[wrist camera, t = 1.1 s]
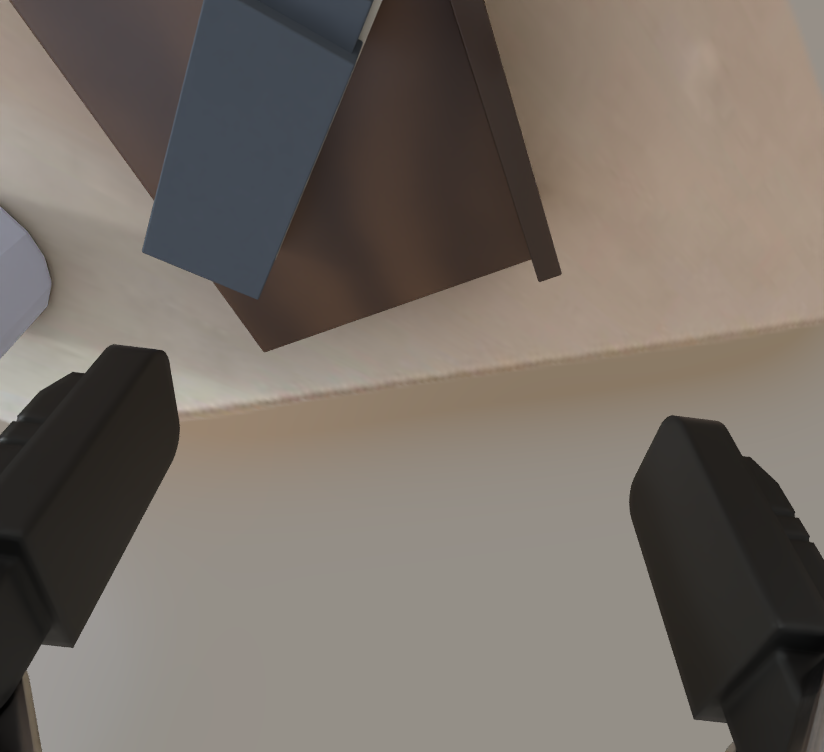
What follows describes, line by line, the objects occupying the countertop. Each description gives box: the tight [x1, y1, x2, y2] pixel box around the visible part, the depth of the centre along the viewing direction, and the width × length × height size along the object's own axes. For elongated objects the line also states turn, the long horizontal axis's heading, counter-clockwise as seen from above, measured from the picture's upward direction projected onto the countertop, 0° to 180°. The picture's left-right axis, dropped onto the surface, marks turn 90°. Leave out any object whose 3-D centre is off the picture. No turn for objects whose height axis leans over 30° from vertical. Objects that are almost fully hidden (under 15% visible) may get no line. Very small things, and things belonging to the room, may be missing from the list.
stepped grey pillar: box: [142, 0, 382, 300], centre depth 20 cm, size 11×4×4 cm, turn 153°
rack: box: [9, 0, 562, 352], centre depth 23 cm, size 15×20×7 cm
